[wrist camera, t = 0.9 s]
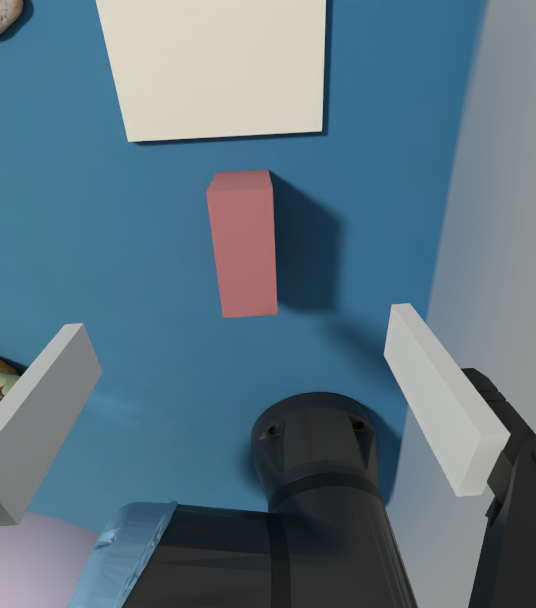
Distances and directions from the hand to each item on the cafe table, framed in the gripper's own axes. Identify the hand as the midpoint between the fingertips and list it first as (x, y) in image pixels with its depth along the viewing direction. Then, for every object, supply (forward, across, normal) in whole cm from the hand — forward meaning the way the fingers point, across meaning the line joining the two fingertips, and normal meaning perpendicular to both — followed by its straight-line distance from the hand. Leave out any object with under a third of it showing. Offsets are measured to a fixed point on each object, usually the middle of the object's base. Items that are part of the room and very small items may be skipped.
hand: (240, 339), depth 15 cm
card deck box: (+16, 0, 0) cm, 16 cm away
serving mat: (+16, +1, -14) cm, 21 cm away
